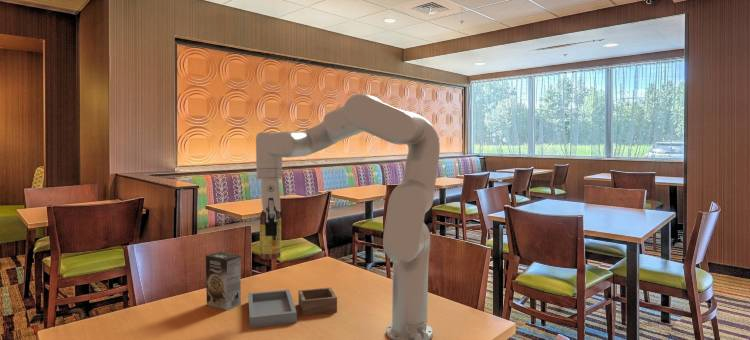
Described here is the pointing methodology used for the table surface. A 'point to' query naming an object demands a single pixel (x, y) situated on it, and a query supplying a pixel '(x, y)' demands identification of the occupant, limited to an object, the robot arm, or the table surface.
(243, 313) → the table surface
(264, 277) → the table surface
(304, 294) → the open wooden box frame
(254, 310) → the tray
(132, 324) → the table surface
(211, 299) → the coffee box
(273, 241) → the sauce bottle
